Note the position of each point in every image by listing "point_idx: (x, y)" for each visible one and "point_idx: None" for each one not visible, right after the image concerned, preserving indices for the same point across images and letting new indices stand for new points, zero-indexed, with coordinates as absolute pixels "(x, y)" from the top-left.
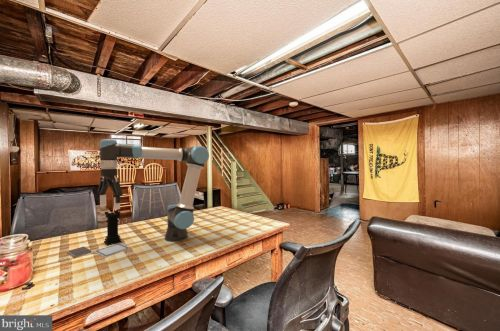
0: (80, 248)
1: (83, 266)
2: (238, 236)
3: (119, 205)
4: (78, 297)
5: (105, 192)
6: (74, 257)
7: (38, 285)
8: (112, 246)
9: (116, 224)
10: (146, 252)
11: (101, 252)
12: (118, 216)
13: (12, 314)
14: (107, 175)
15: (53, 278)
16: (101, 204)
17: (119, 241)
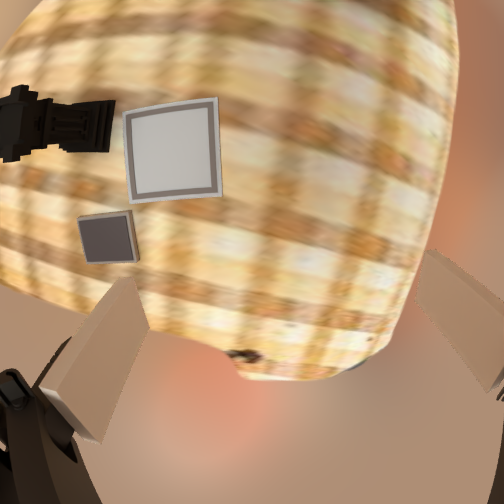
0: (89, 233)
1: (238, 262)
2: None
3: (456, 272)
4: (389, 309)
5: (42, 432)
6: (139, 258)
7: (262, 346)
8: (136, 140)
9: (55, 110)
10: (313, 84)
11: (165, 188)
12: (35, 98)
13: (337, 373)
14: None
15: (252, 324)
16: (139, 343)
17: (111, 107)
